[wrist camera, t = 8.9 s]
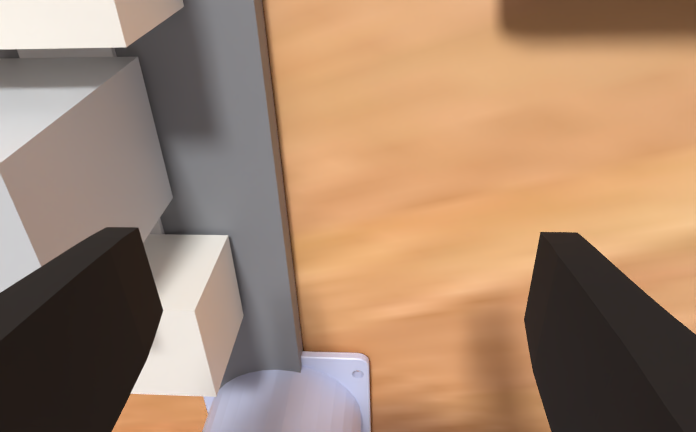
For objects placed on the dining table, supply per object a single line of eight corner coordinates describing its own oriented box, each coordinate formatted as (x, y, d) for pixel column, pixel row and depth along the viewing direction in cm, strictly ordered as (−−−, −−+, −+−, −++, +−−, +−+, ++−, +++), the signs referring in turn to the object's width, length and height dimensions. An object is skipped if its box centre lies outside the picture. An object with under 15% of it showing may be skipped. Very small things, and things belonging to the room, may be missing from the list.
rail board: (306, 377, 26) (302, 397, 25) (63, 368, 27) (50, 388, 26) (208, -454, 12) (190, -484, 11) (-302, -406, 13) (-362, -429, 12)
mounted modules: (243, 315, 22) (216, 396, 19) (56, 310, 23) (-3, 388, 20) (151, -164, 13) (70, -170, 10) (-149, -149, 14) (-318, -151, 11)
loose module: (173, 197, 19) (75, 345, 13) (51, 196, 20) (-95, 340, 14) (137, 56, 17) (-3, 165, 11) (-3, 58, 17) (-213, 165, 11)
